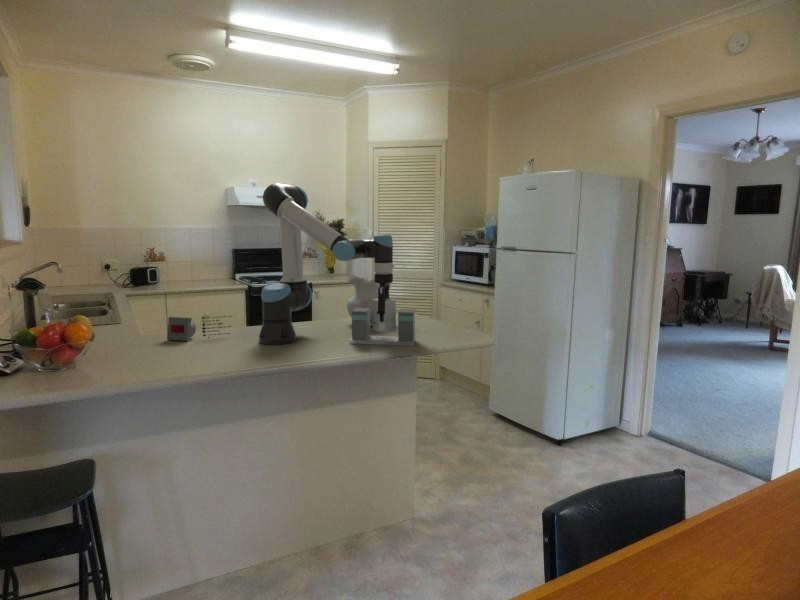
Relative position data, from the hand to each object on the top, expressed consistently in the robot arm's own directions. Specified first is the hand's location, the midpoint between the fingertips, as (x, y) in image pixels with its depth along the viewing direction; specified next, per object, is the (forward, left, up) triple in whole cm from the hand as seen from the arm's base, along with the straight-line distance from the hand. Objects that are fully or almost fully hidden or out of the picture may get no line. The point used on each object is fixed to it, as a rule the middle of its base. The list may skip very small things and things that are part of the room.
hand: (384, 326), depth 211 cm
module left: (-10, 0, -5) cm, 11 cm away
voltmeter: (-79, -4, -7) cm, 79 cm away
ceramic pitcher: (-13, +36, -7) cm, 39 cm away
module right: (+9, 0, -5) cm, 11 cm away
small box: (0, 0, -2) cm, 2 cm away
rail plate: (-1, 0, -7) cm, 7 cm away
